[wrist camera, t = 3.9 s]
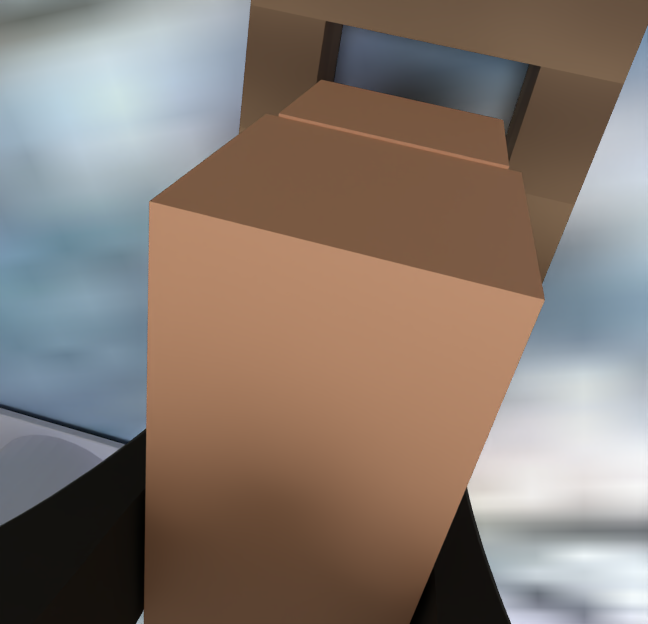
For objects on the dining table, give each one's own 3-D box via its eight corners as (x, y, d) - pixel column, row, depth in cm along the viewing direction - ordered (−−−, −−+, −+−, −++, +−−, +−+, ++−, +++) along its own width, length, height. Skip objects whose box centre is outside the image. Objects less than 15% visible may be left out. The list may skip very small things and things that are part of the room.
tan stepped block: (379, 532, 18) (330, 812, 12) (250, 493, 18) (142, 747, 13) (513, 122, 12) (547, 294, 6) (311, 77, 12) (149, 196, 6)
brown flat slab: (442, 487, 25) (438, 537, 23) (230, 427, 26) (208, 470, 24) (651, -53, 15) (679, -54, 13) (292, -121, 16) (263, -133, 14)
